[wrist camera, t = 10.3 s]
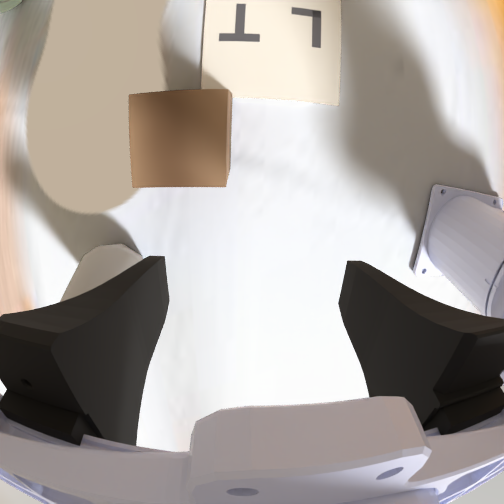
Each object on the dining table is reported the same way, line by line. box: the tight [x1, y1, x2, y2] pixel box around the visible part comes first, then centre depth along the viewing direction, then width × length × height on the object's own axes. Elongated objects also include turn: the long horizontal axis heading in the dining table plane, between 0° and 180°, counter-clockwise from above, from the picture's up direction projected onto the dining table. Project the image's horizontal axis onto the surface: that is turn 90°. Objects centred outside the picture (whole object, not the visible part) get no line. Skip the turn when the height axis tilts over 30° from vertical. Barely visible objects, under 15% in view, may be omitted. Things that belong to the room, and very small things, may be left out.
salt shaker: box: [60, 244, 143, 302], centre depth 16 cm, size 6×6×13 cm
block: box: [129, 89, 232, 188], centre depth 16 cm, size 5×5×5 cm
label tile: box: [201, 0, 341, 106], centre depth 15 cm, size 9×11×1 cm
